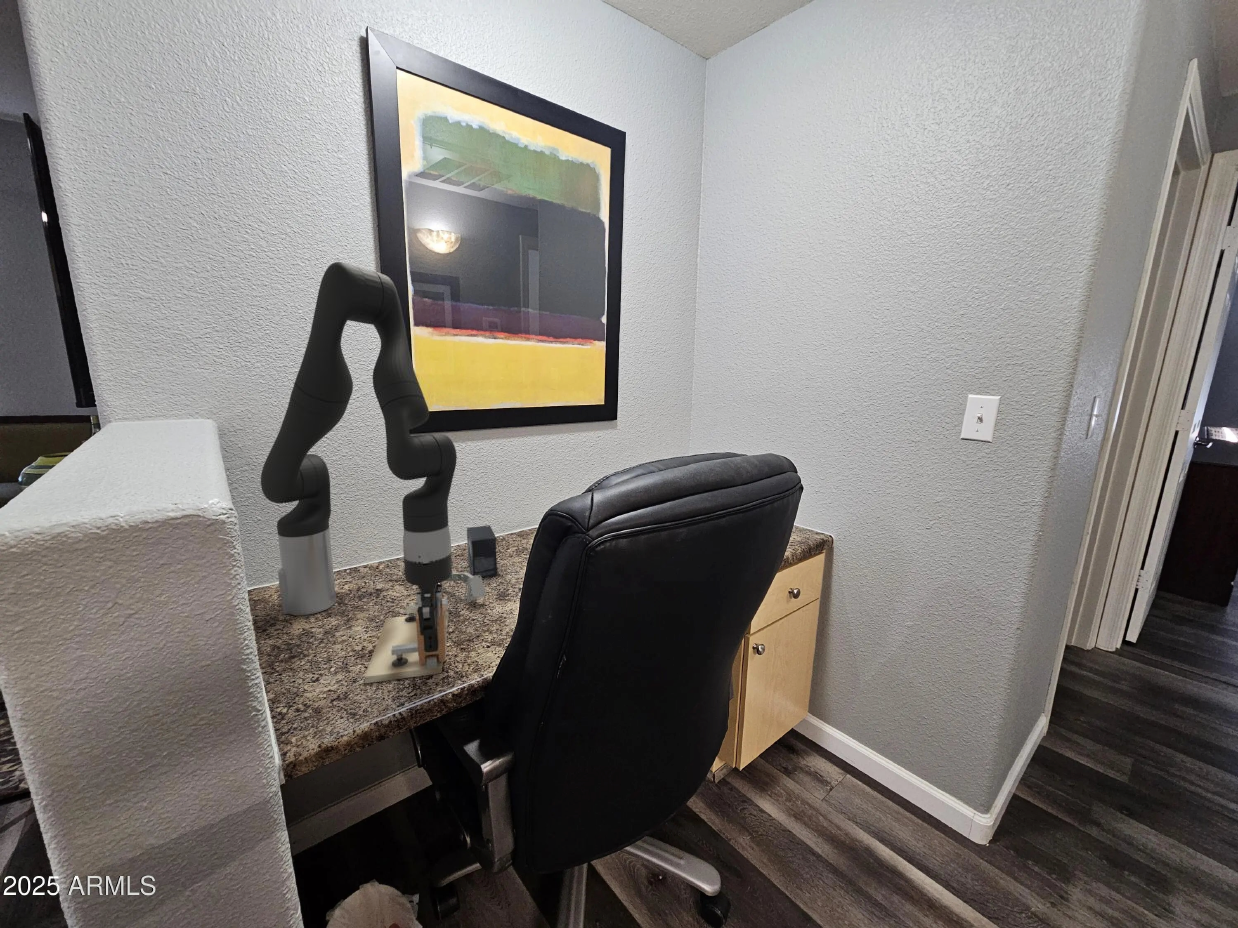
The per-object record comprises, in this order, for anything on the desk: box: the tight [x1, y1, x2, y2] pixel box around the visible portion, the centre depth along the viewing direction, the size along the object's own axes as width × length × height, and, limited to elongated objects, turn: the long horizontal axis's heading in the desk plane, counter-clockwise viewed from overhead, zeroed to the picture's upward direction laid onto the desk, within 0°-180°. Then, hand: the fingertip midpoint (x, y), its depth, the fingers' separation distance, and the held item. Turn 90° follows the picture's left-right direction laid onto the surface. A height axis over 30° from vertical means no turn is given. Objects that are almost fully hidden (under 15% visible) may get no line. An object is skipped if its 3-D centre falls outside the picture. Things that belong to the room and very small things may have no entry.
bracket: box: [445, 572, 487, 603], centre depth 114 cm, size 3×21×10 cm, turn 53°
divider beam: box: [405, 599, 449, 669], centre depth 92 cm, size 8×20×3 cm, turn 16°
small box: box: [466, 524, 499, 579], centre depth 126 cm, size 11×6×10 cm, turn 23°
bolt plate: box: [363, 611, 449, 684], centre depth 92 cm, size 12×20×1 cm, turn 16°
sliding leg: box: [391, 605, 448, 665], centre depth 85 cm, size 9×4×9 cm, turn 106°
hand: (432, 643), depth 86 cm, fingers closed on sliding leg, 4 cm apart
